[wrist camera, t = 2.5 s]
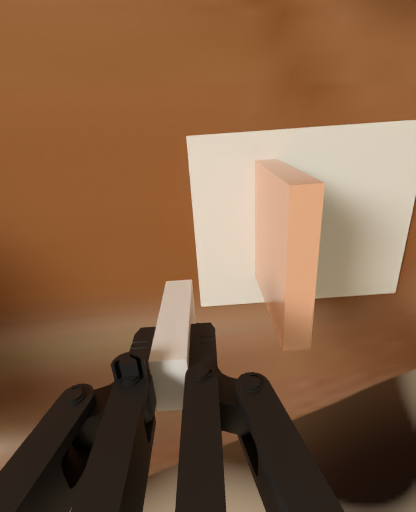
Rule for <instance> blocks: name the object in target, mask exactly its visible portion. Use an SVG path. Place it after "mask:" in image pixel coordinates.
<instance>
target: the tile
mask: <svg viewBox="0 0 416 512" xmlns="http://www.w3.org/2000/svg"><path fill="white" fill-rule="evenodd" d="M324 188H325V183H324V182H322V181H320V180H318V179H316V178H314V177H312V176H310V175H308V174H306V173H304V172H302V171H300V170H298V169H296V168H294V167H292V166H290V165H288V164H286V163H284V162H282V161H279V160H277V159H267V160H255V277H256V279H257V282H258V285H259V288H260V290H261V293H262V296H263V298H264V301H265V304H266V307H267V309H268V312H269V315H270V317H271V320H272V323H273V326H274V328H275V331H276V334H277V336H278V339H279V342H280V345H281V347H282V350H283V351H292V350H306V349H310V347H311V336H312V325H313V313H314V302H315V290H316V279H317V268H318V256H319V245H320V234H321V222H322V211H323V199H324Z"/></svg>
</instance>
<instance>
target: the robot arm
mask: <svg viewBox="0 0 416 512" xmlns="http://www.w3.org/2000/svg"><path fill="white" fill-rule="evenodd" d="M195 321H196V318H195V307H194V297H193V287H192V280H179V281H166V285H165V289H164V294H163V298H162V303H161V307H160V312H159V316H158V321H157V325H156V327H145V328H140V329H139V330H138V332H137V333H136V334H135V336H134V339H133V343H132V345H131V349H130V351H129V352H127V353H124V354H121V355H119V356H118V357H116V358H115V359H114V360H113V362H112V363H111V367H112V371H113V375H114V380H115V381H114V382H113V383H112V384H110V385H107V386H105V387H102V388H99V389H95V390H94V389H93V388H92V386H91V385H88V384H77V385H74V386H72V387H70V388H68V389H67V390H65V391H64V392H63V393H62V394H61V395H60V397H59V398H58V399H57V400H56V402H55V403H54V404H53V405H52V407H51V408H50V409H49V411H48V412H47V413H46V414H45V416H44V417H43V418H42V419H41V421H40V422H39V423H38V424H37V426H36V427H35V428H34V429H33V431H32V432H31V433H30V434H29V436H28V437H27V438H26V439H25V441H24V442H23V443H22V444H21V446H20V447H19V448H18V449H17V451H16V452H15V453H14V455H13V456H12V457H11V458H10V460H9V461H8V462H7V463H6V465H5V466H4V467H3V468H2V470H1V471H0V512H69V511H70V510H71V512H143V505H144V498H145V492H146V485H147V479H148V472H149V465H150V459H151V452H152V445H153V439H154V432H155V425H156V419H155V407H156V406H157V411H173V410H182V424H181V438H180V452H179V466H178V480H177V494H176V508H175V512H226V502H225V484H224V467H223V450H222V433H221V432H222V431H226V432H230V433H234V434H237V435H238V438H239V441H240V443H241V446H242V449H243V451H244V454H245V456H246V459H247V462H248V465H249V467H250V470H251V472H252V475H253V478H254V481H255V483H256V486H257V488H258V491H259V494H260V496H261V499H262V501H263V504H264V507H265V510H266V512H344V510H343V509H342V507H341V505H340V503H339V502H338V500H337V498H336V496H335V495H334V493H333V491H332V489H331V488H330V486H329V484H328V483H327V481H326V479H325V477H324V476H323V474H322V472H321V470H320V469H319V467H318V465H317V464H316V462H315V460H314V458H313V457H312V455H311V453H310V452H309V450H308V448H307V446H306V445H305V443H304V441H303V439H302V438H301V436H300V434H299V433H298V431H297V429H296V427H295V426H294V424H293V422H292V420H291V419H290V417H289V415H288V413H287V412H286V410H285V408H284V407H283V405H282V403H281V401H280V400H279V398H278V396H277V394H276V393H275V391H274V389H273V388H272V386H271V384H270V382H269V381H268V380H267V379H266V377H265V376H263V375H261V374H259V373H254V372H249V373H245V374H242V375H241V376H240V377H239V378H238V379H235V378H231V377H228V376H226V375H224V374H222V373H221V372H220V370H219V369H218V366H217V352H216V337H215V328H214V327H213V325H212V324H211V323H196V324H195ZM221 430H222V431H221ZM71 508H72V509H71Z"/></svg>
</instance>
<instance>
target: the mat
mask: <svg viewBox="0 0 416 512" xmlns="http://www.w3.org/2000/svg"><path fill="white" fill-rule="evenodd" d="M186 138H187V149H188V161H189V172H190V184H191V195H192V207H193V218H194V230H195V241H196V253H197V264H198V276H199V287H200V299H201V307H205V306H219V305H233V304H247V303H261V302H265V301H264V298H263V296H262V293H261V290H260V288H259V285H258V282H257V279H256V277H255V160H267V159H277V160H279V161H282V162H284V163H286V164H288V165H290V166H292V167H294V168H296V169H298V170H300V171H302V172H304V173H306V174H308V175H310V176H312V177H314V178H316V179H318V180H320V181H322V182H324V183H325V188H324V199H323V211H322V222H321V234H320V245H319V256H318V268H317V279H316V290H315V299H317V298H331V297H345V296H359V295H373V294H387V293H395V292H396V287H397V283H398V278H399V273H400V268H401V264H402V259H403V254H404V249H405V244H406V240H407V235H408V230H409V225H410V220H411V216H412V211H413V206H414V201H415V197H416V120H405V121H391V122H377V123H363V124H349V125H335V126H321V127H307V128H292V129H278V130H264V131H250V132H236V133H222V134H208V135H194V136H186Z"/></svg>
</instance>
